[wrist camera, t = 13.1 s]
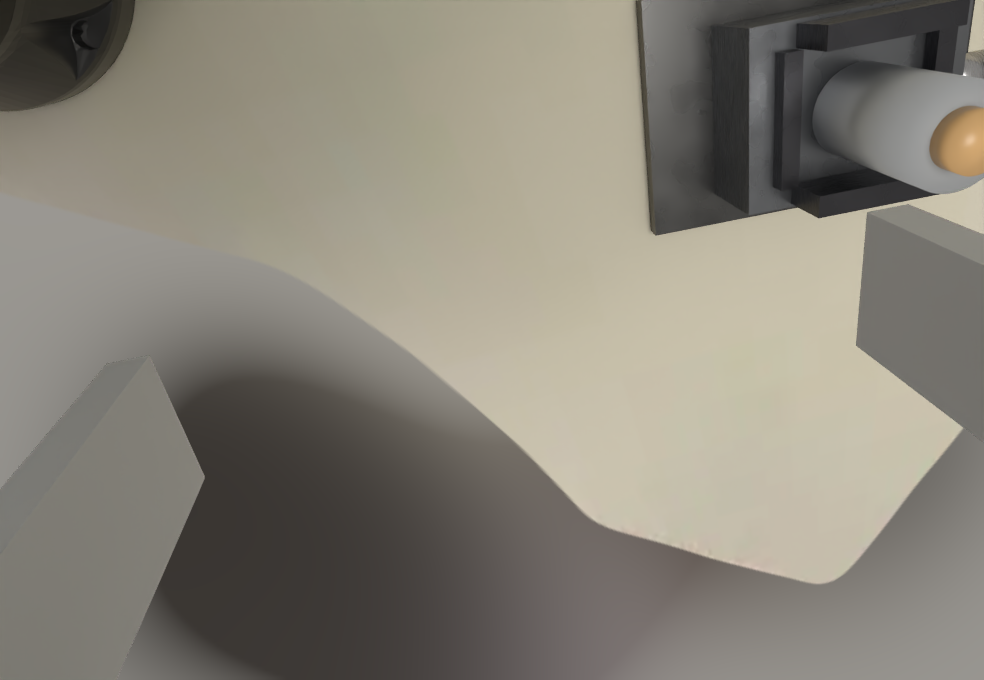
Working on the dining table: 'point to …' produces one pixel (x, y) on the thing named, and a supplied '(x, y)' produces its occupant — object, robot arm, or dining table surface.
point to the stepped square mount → (773, 100)
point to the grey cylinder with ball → (905, 123)
